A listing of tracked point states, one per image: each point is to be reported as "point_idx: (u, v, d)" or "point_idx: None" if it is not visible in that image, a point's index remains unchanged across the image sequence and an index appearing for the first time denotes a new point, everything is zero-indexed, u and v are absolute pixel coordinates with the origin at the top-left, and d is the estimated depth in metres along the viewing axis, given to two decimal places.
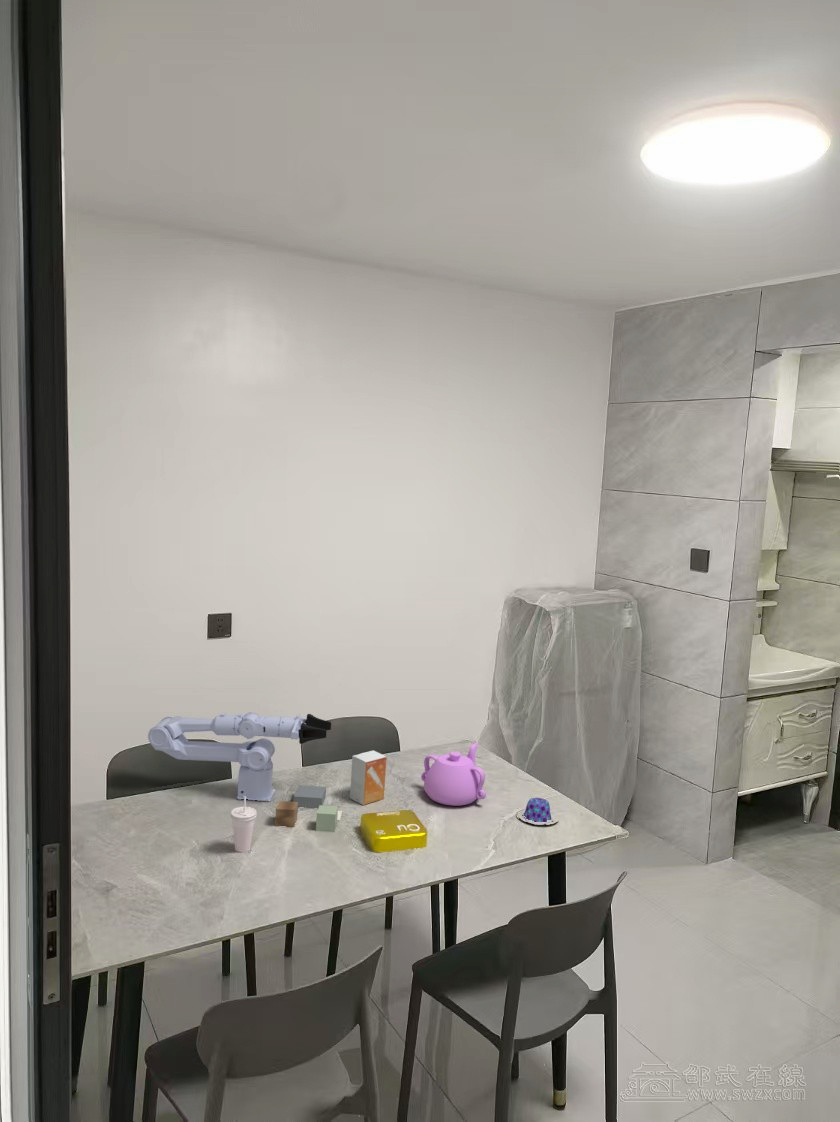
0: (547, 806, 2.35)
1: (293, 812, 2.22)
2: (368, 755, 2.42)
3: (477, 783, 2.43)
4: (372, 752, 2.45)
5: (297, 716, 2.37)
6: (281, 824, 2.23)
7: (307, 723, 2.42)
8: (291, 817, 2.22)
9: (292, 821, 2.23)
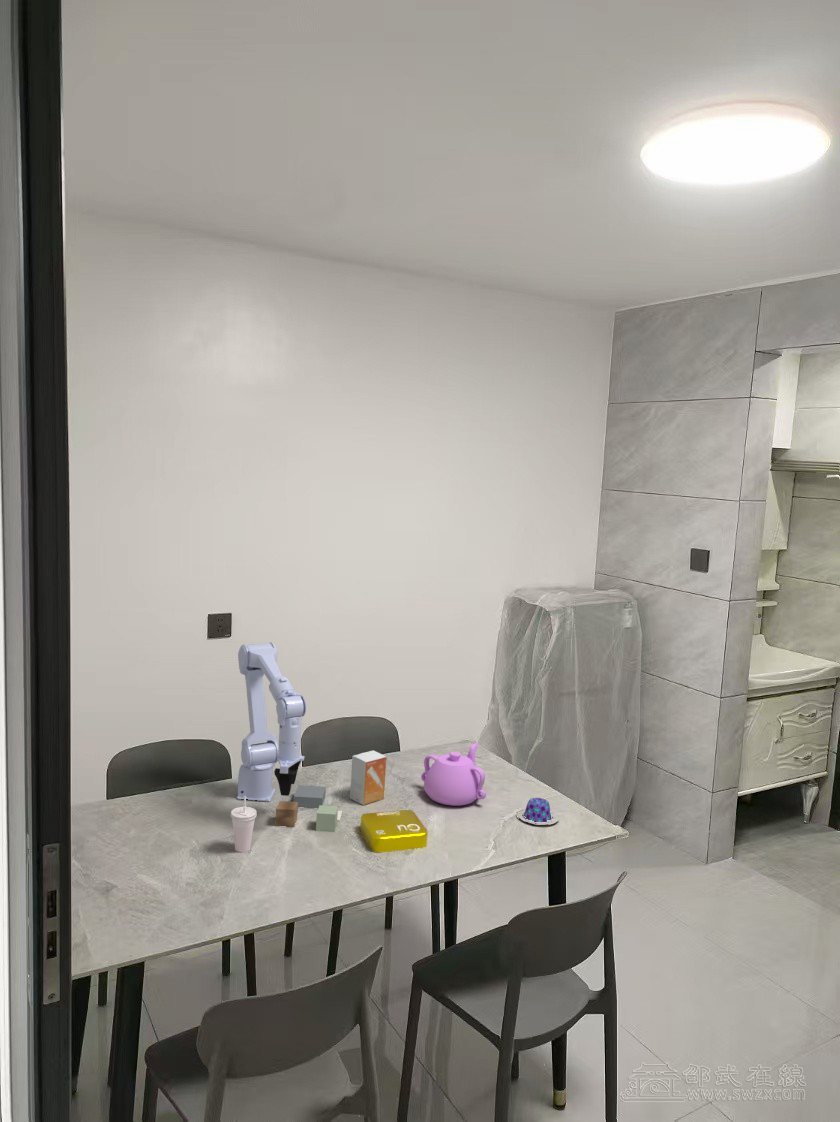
0: (547, 806, 2.35)
1: (293, 812, 2.22)
2: (368, 755, 2.42)
3: (477, 783, 2.43)
4: (372, 752, 2.45)
5: (302, 759, 2.22)
6: (281, 824, 2.23)
7: None
8: (291, 817, 2.22)
9: (292, 821, 2.23)
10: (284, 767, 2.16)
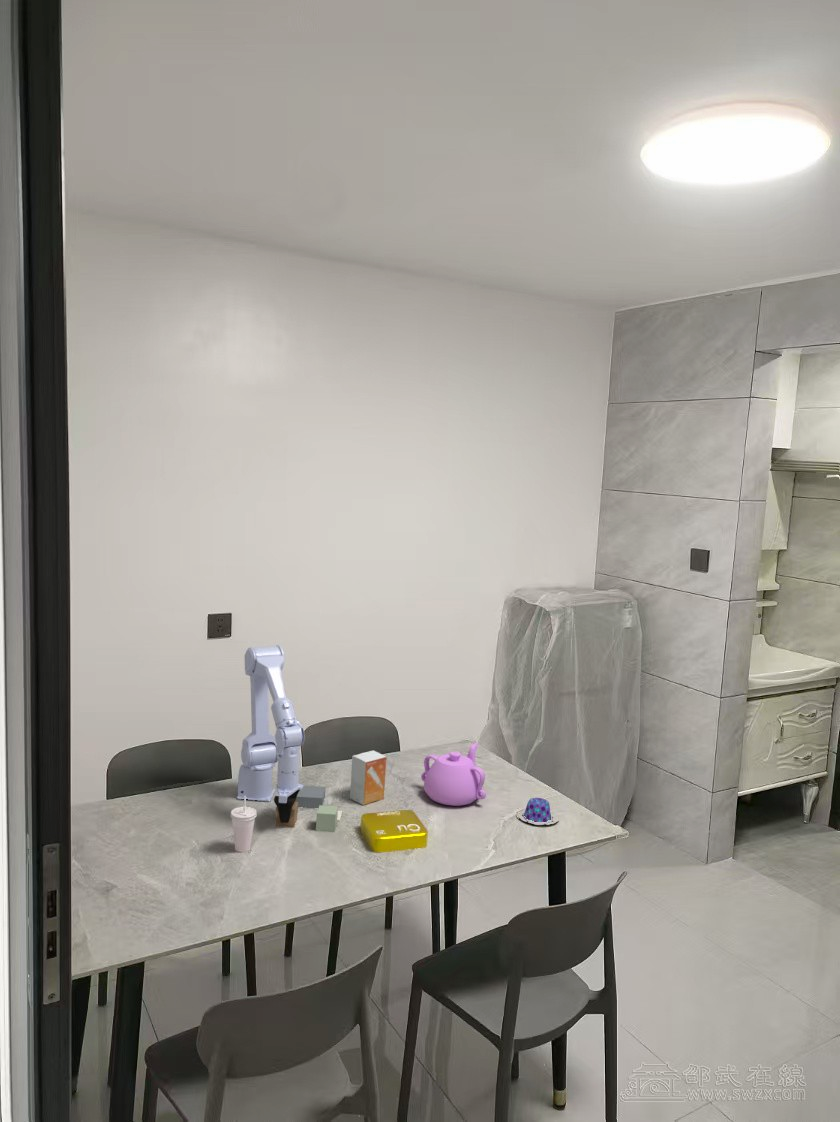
0: (547, 806, 2.35)
1: (293, 812, 2.22)
2: (368, 755, 2.42)
3: (477, 783, 2.43)
4: (372, 752, 2.45)
5: (300, 788, 2.23)
6: (281, 824, 2.23)
7: None
8: (291, 817, 2.22)
9: (292, 821, 2.22)
10: (283, 797, 2.17)
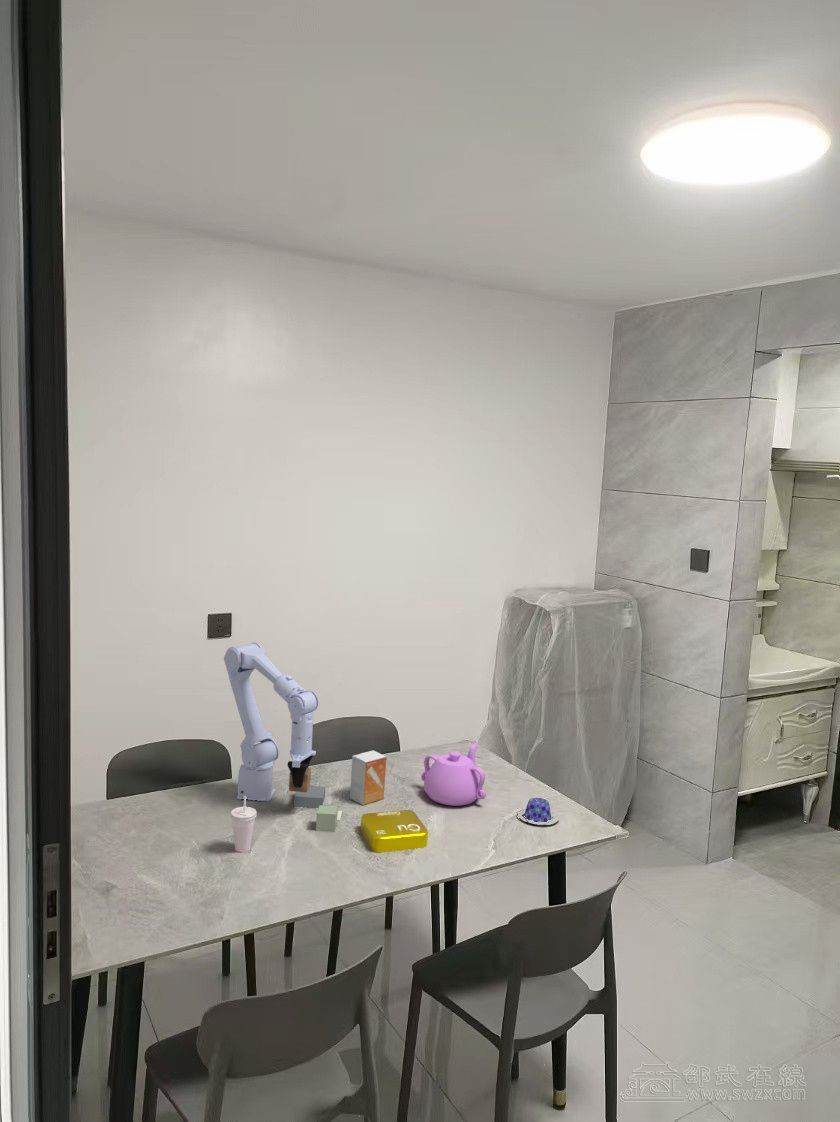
0: (547, 806, 2.35)
1: (306, 777, 2.28)
2: (368, 755, 2.42)
3: (477, 783, 2.43)
4: (372, 752, 2.45)
5: (313, 754, 2.29)
6: (294, 788, 2.29)
7: None
8: (304, 782, 2.29)
9: (305, 786, 2.29)
10: (296, 761, 2.23)
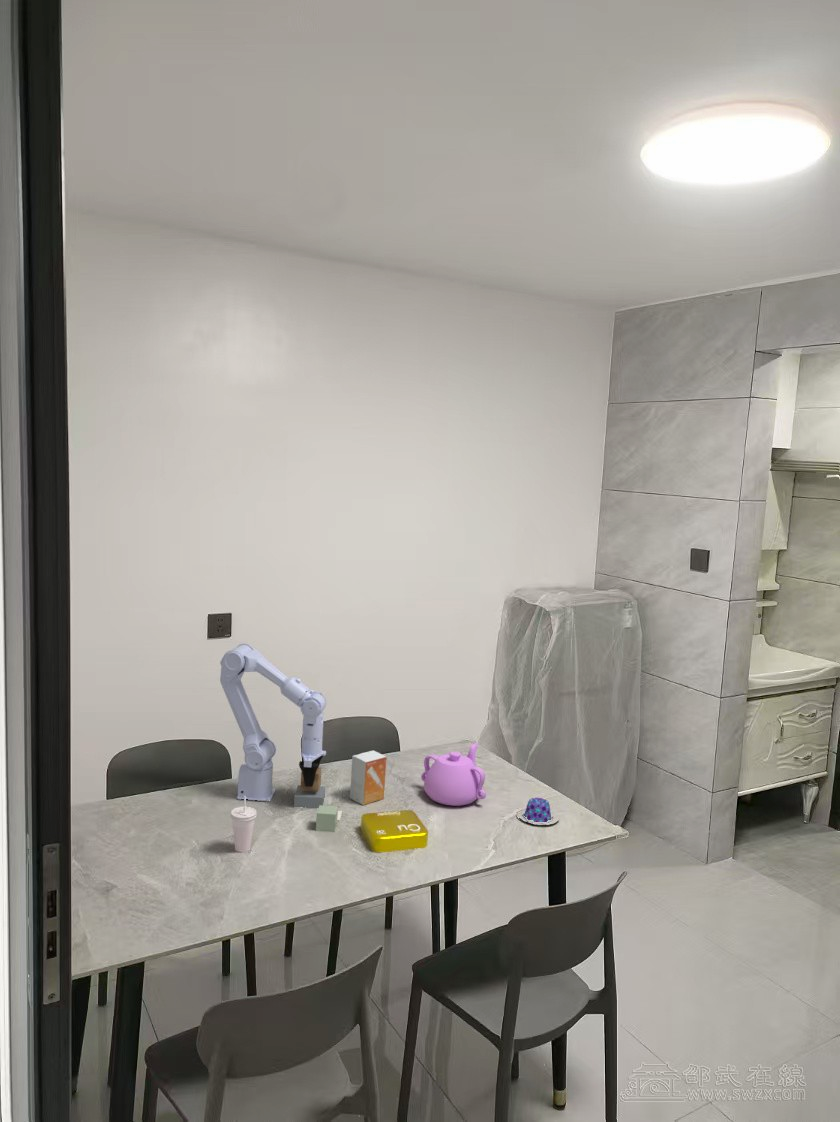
0: (548, 806, 2.35)
1: (317, 776, 2.35)
2: (368, 755, 2.42)
3: (477, 783, 2.43)
4: (372, 752, 2.45)
5: (324, 754, 2.36)
6: (306, 788, 2.36)
7: None
8: (315, 781, 2.36)
9: (316, 785, 2.36)
10: (308, 761, 2.30)
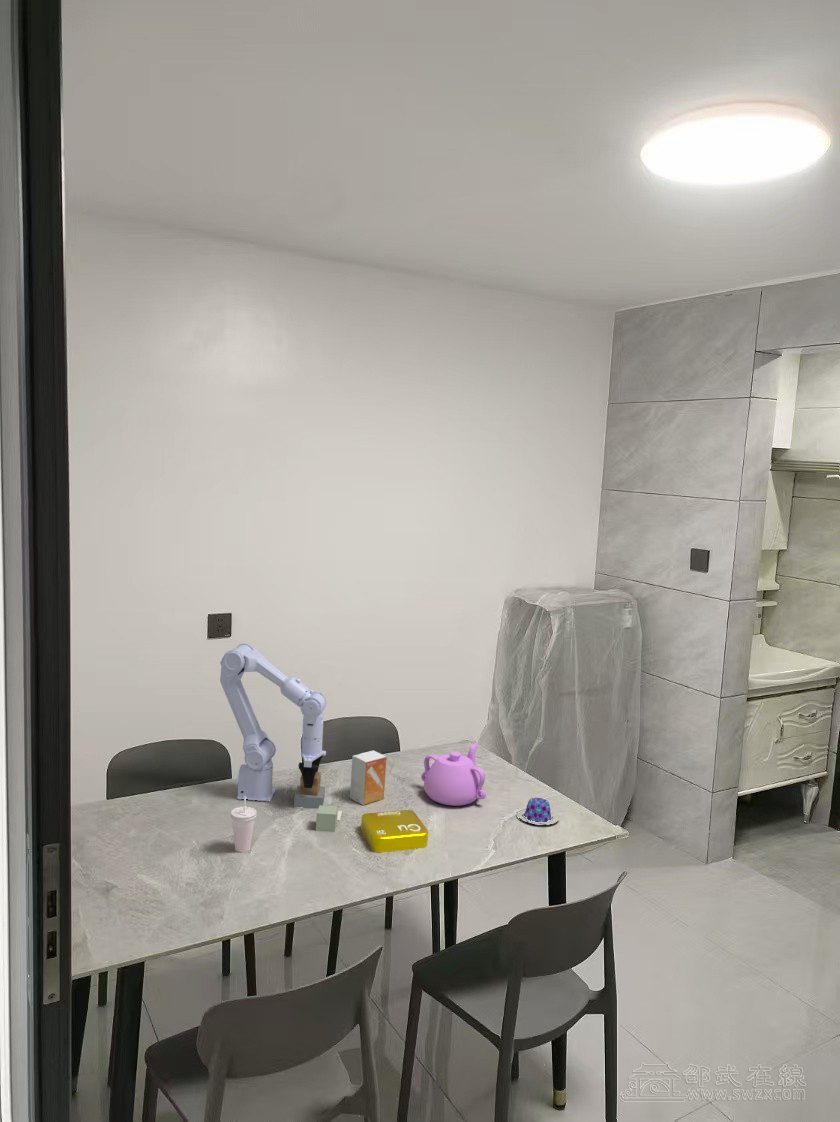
0: (548, 806, 2.35)
1: (316, 781, 2.36)
2: (368, 755, 2.42)
3: (477, 783, 2.43)
4: (372, 752, 2.45)
5: (324, 754, 2.36)
6: (305, 792, 2.36)
7: None
8: (315, 785, 2.36)
9: (315, 789, 2.36)
10: (308, 761, 2.30)
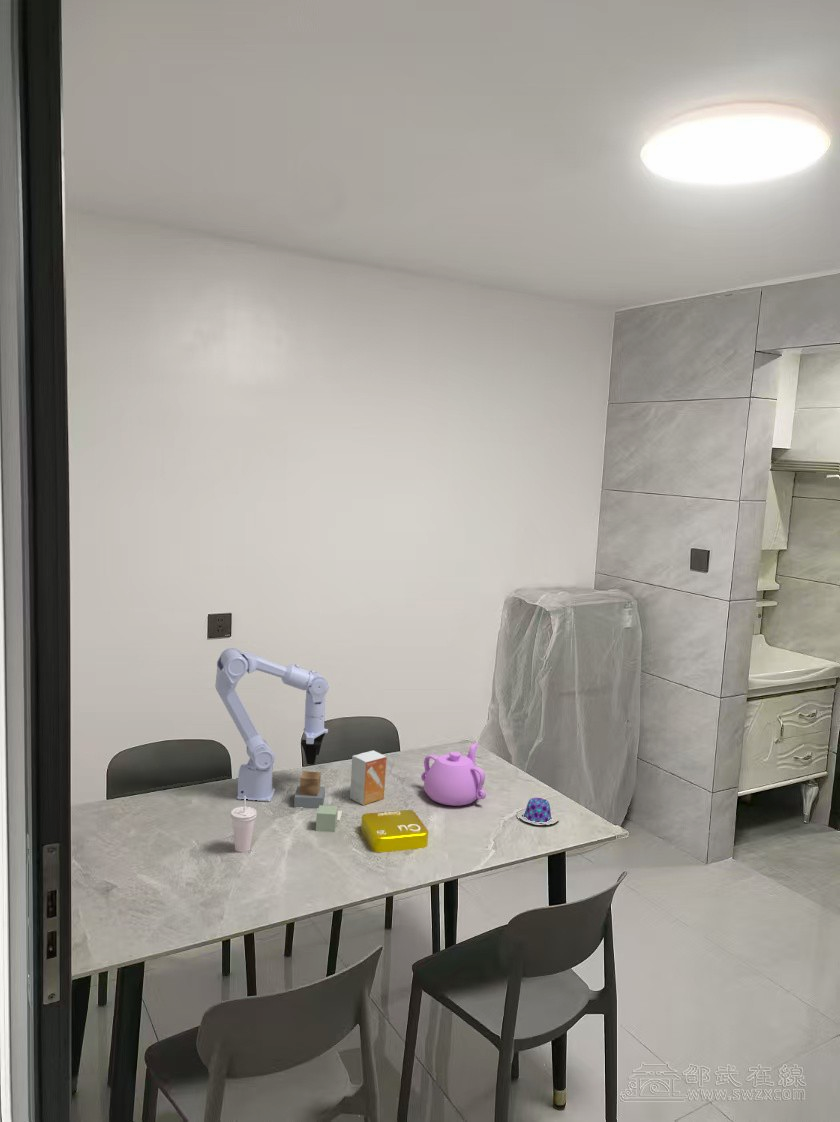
0: (548, 805, 2.36)
1: (316, 781, 2.35)
2: (368, 755, 2.42)
3: (477, 783, 2.43)
4: (372, 752, 2.45)
5: (326, 732, 2.44)
6: (305, 793, 2.36)
7: None
8: (315, 786, 2.36)
9: (315, 790, 2.36)
10: (310, 738, 2.38)
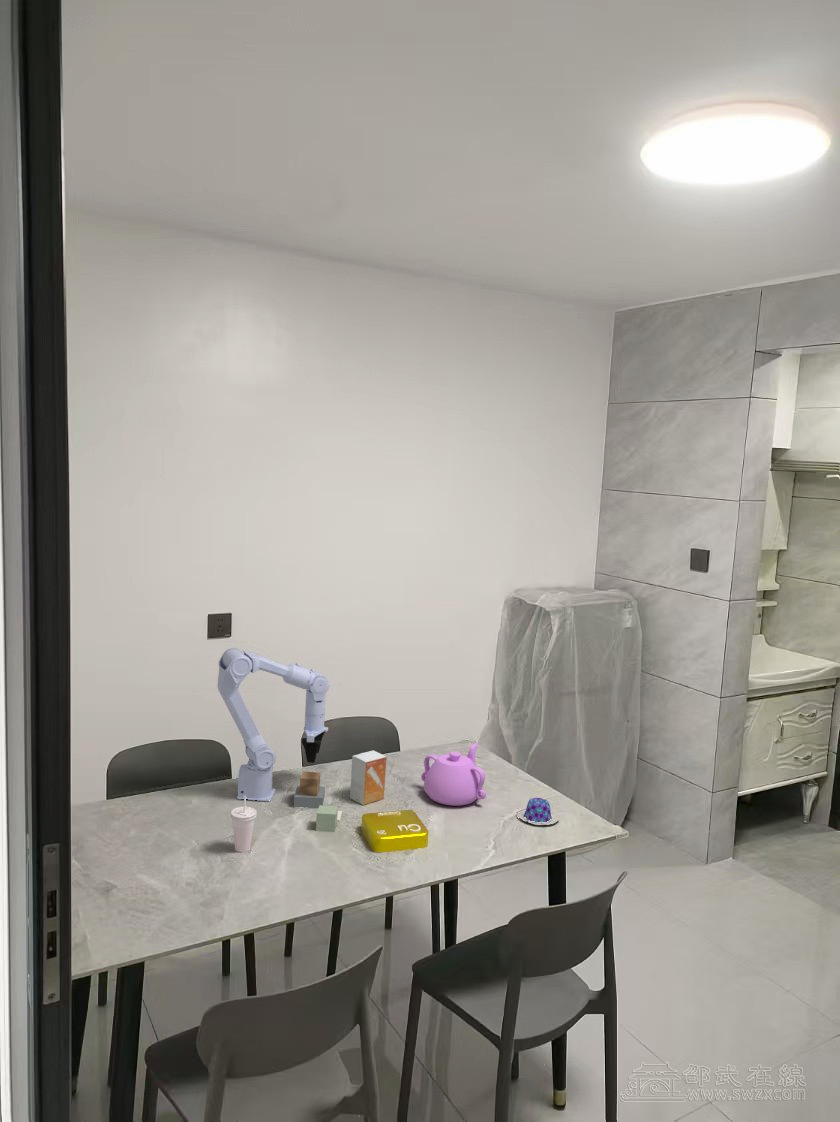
0: (548, 805, 2.36)
1: (316, 781, 2.35)
2: (368, 755, 2.42)
3: (477, 783, 2.43)
4: (372, 752, 2.45)
5: (326, 730, 2.46)
6: (305, 793, 2.36)
7: None
8: (314, 786, 2.35)
9: (315, 790, 2.36)
10: (310, 736, 2.39)
